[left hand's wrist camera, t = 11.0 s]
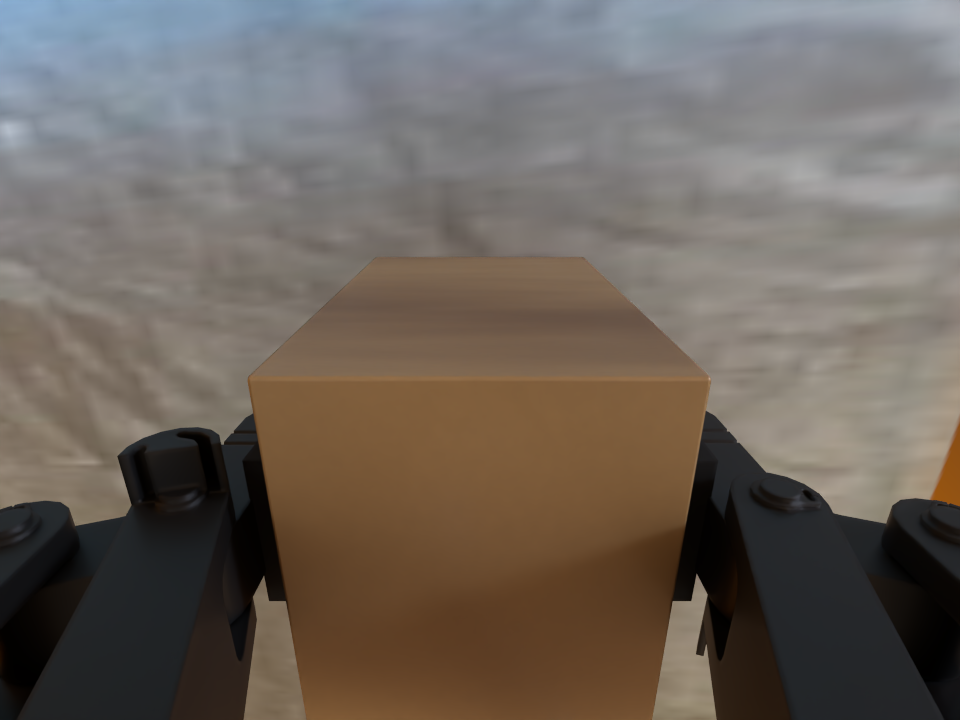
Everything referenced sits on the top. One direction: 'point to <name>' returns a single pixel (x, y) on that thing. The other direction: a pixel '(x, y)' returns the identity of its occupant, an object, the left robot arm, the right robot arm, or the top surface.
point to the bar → (479, 491)
